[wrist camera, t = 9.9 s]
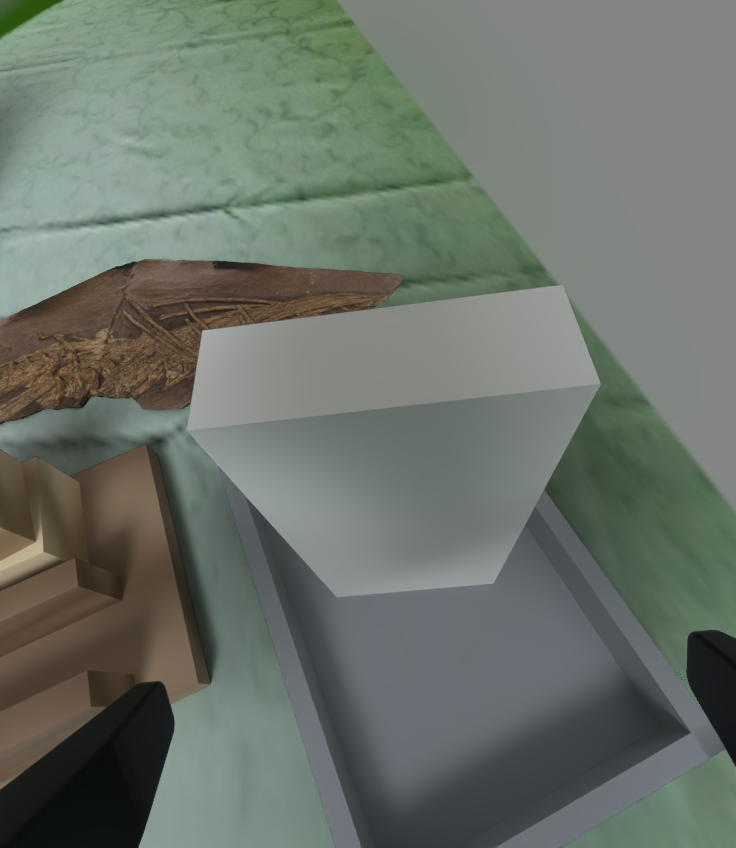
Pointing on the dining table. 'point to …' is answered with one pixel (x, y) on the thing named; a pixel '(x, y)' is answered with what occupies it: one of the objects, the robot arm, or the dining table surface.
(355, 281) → the wooden fragment
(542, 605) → the tray
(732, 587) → the dining table surface
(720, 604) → the dining table surface
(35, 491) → the offcut lower
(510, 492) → the sheet
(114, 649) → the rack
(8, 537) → the offcut upper
